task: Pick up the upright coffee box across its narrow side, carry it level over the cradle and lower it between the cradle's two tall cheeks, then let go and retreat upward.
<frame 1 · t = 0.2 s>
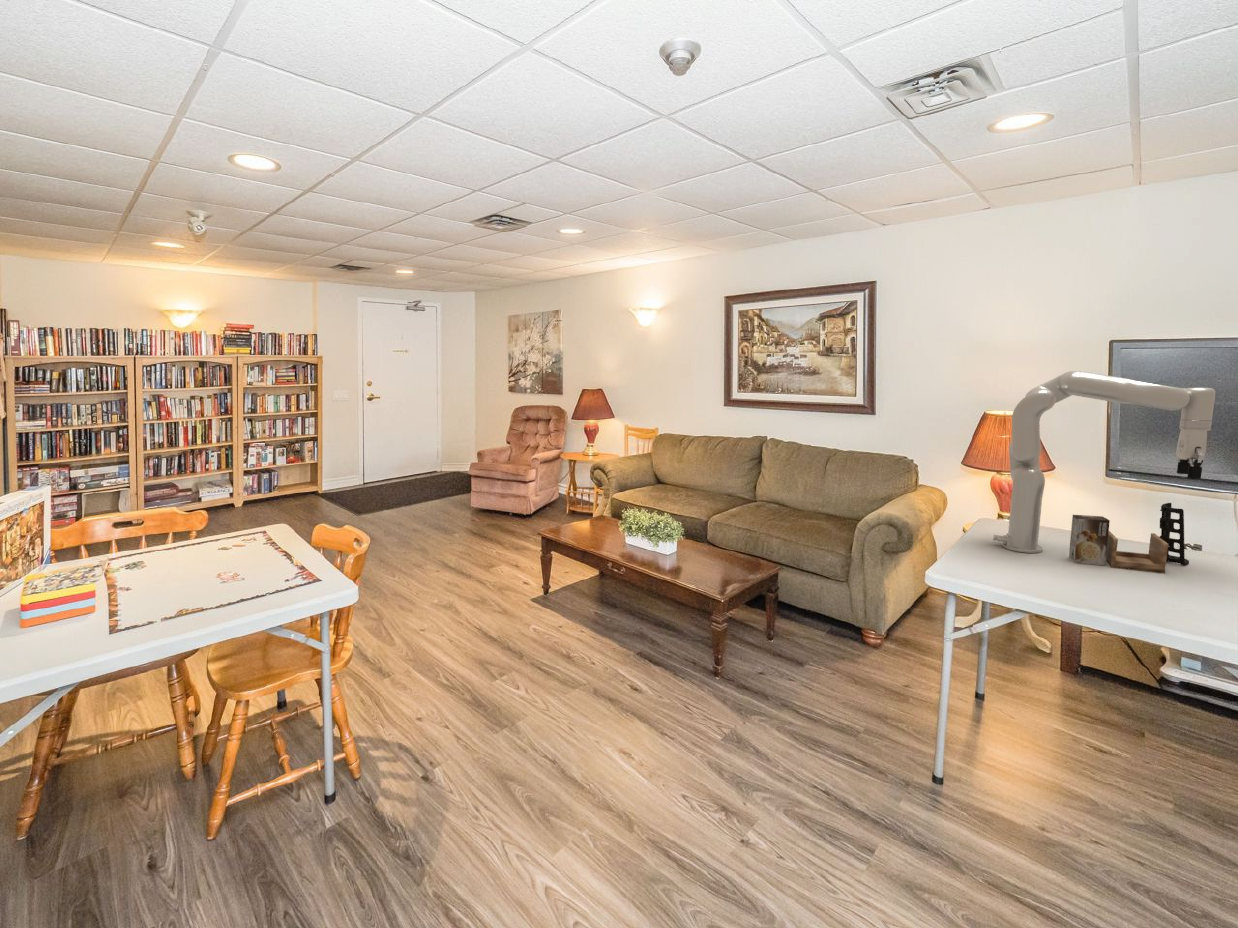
hand: (1188, 476, 202), 31 cm above the table, fingers open, 9 cm apart
coffee box: (1086, 562, 211), on the table
holder: (1170, 561, 210), on the table
cradle: (1131, 564, 207), on the table
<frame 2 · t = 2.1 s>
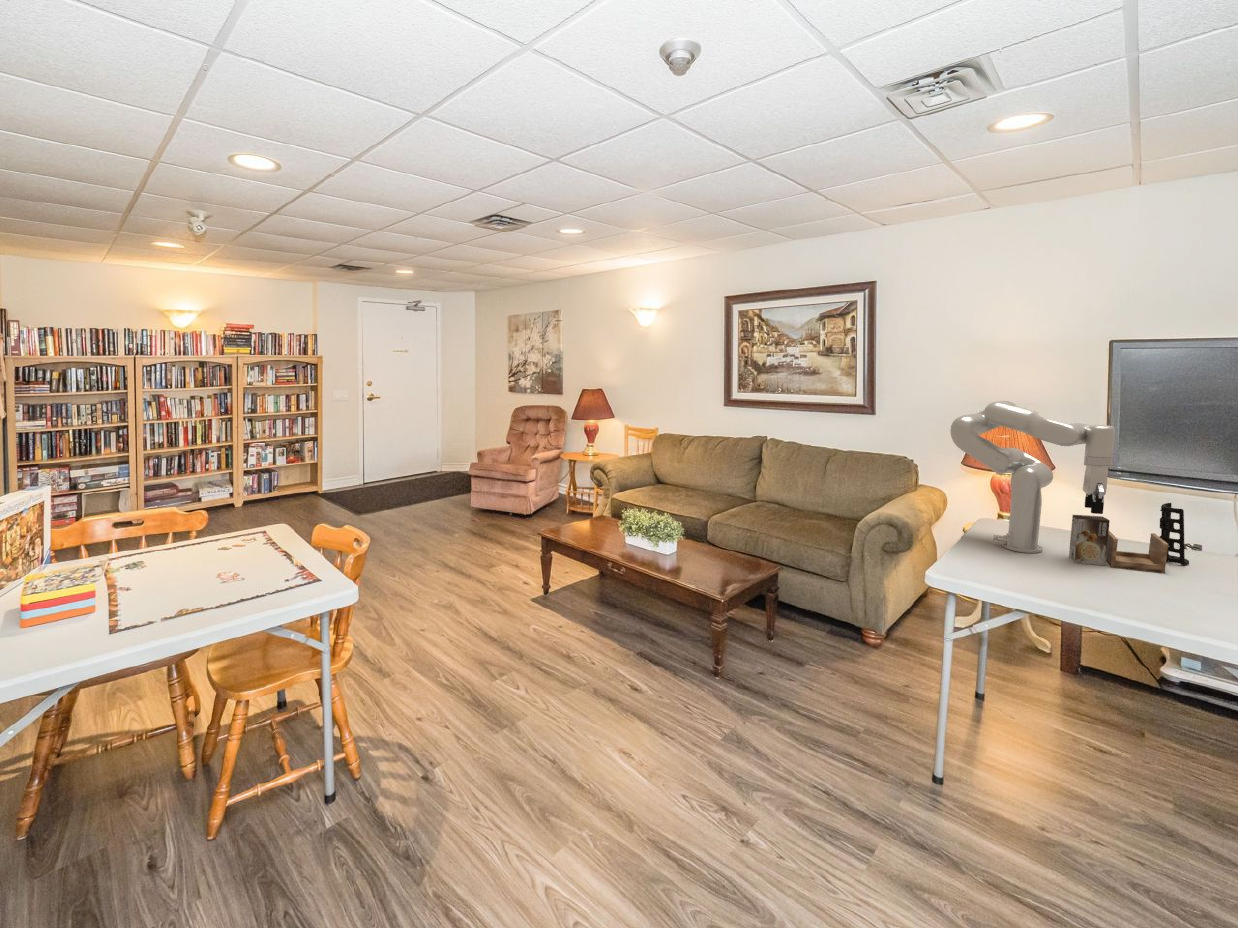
hand: (1093, 510, 208), 18 cm above the table, fingers open, 9 cm apart
nothing on the table moved.
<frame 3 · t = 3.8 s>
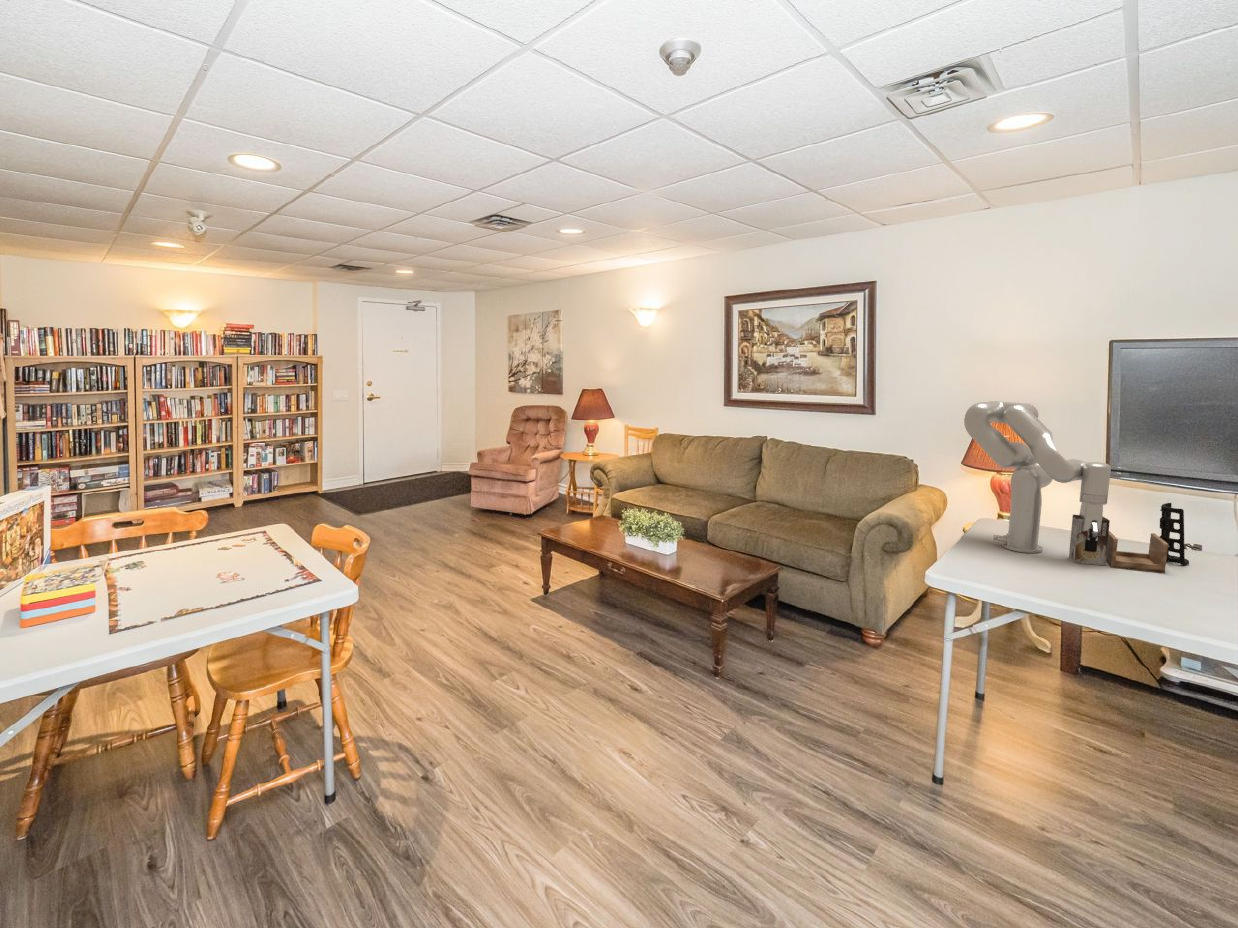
hand: (1088, 548, 210), 5 cm above the table, fingers closed on coffee box, 6 cm apart
coffee box: (1086, 562, 211), on the table, touching gripper
everything else where it was.
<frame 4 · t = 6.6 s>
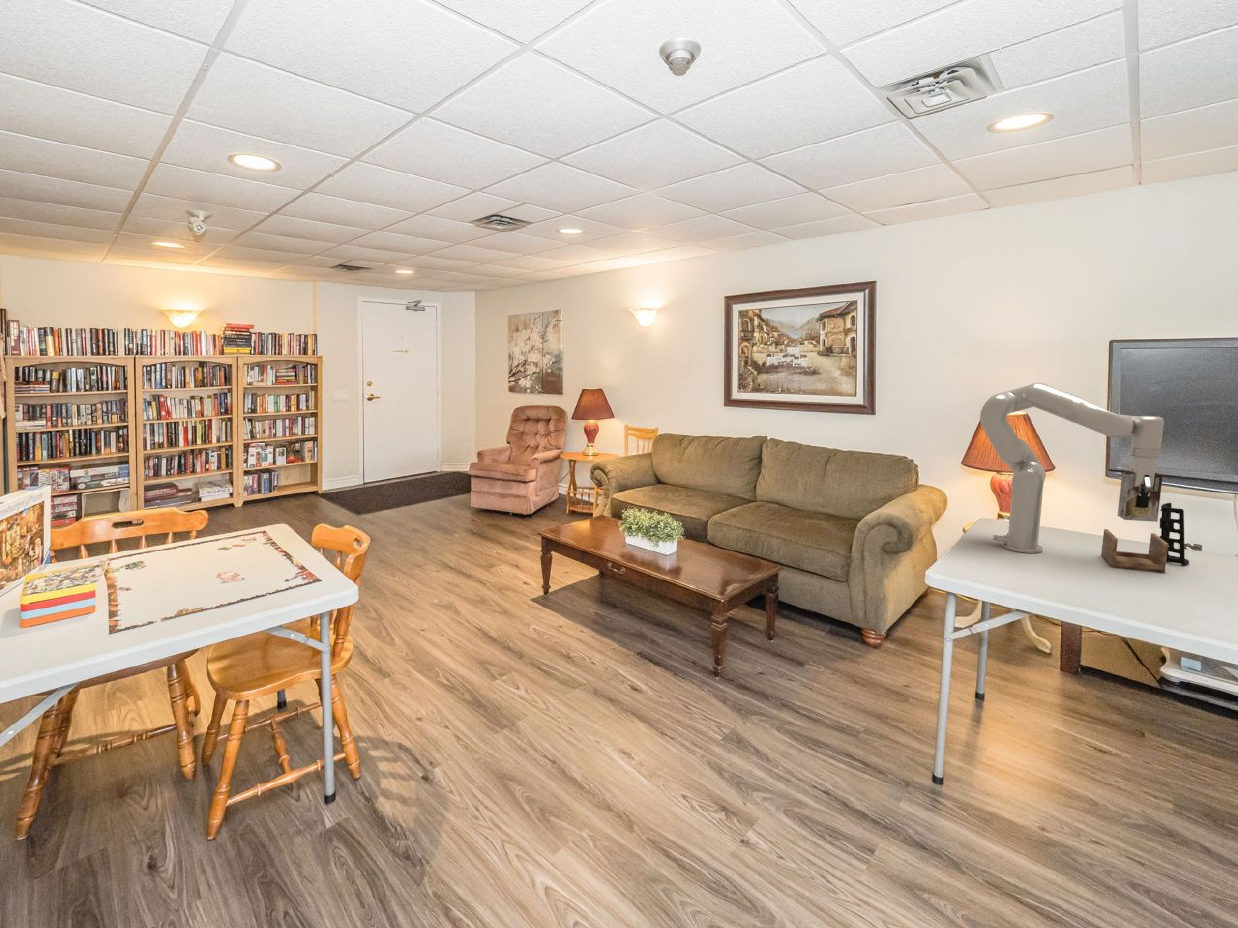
hand: (1138, 504, 204), 21 cm above the table, fingers closed on coffee box, 6 cm apart
coffee box: (1136, 519, 205), point 16 cm above the table, touching gripper
everything else where it was.
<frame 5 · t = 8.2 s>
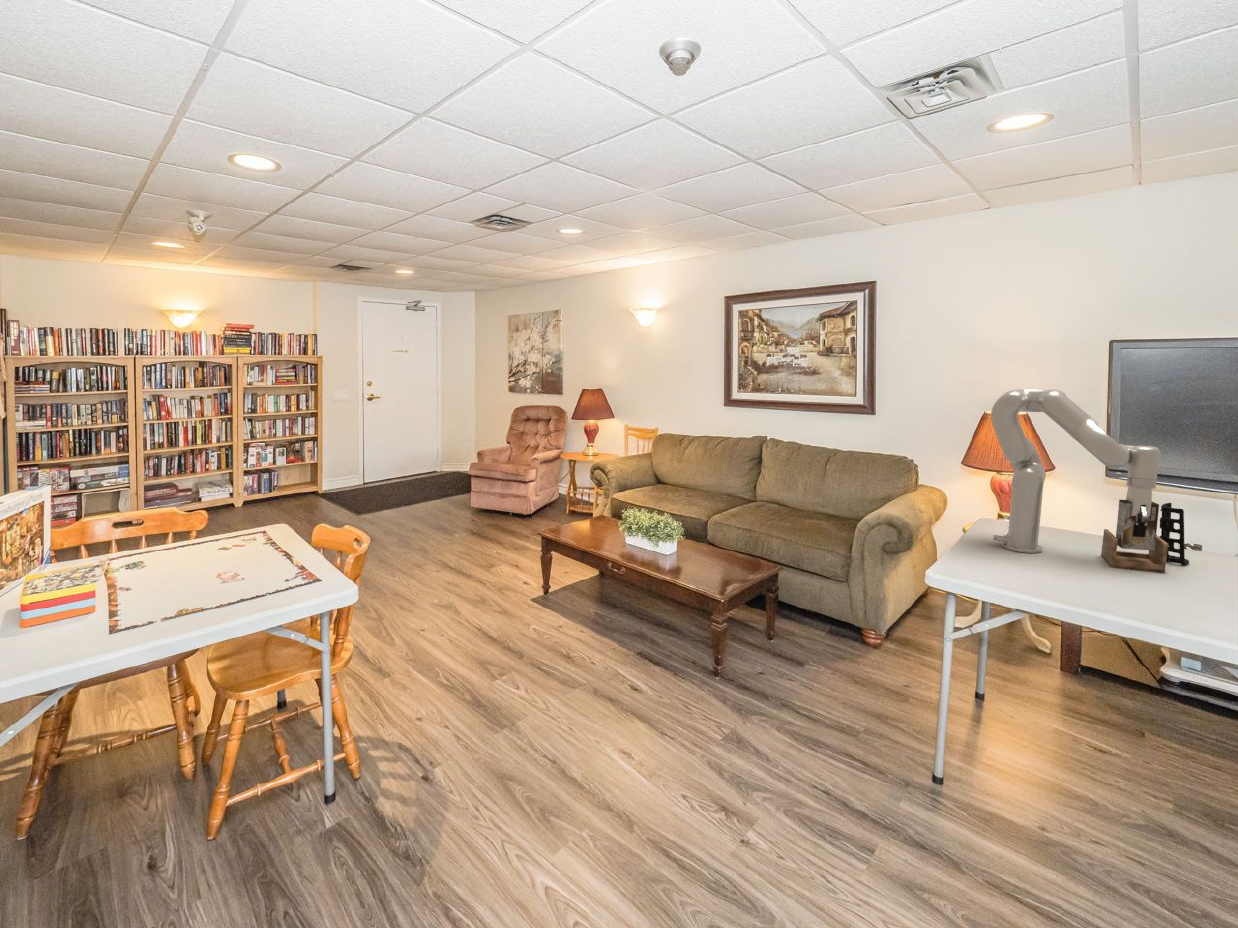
hand: (1135, 533, 206), 11 cm above the table, fingers closed on coffee box, 6 cm apart
coffee box: (1134, 548, 206), point 6 cm above the table, touching gripper
everything else where it was.
when the fingers open (7 cm above the table, at t = 9.6 s): coffee box stays where it is, resting on cradle.
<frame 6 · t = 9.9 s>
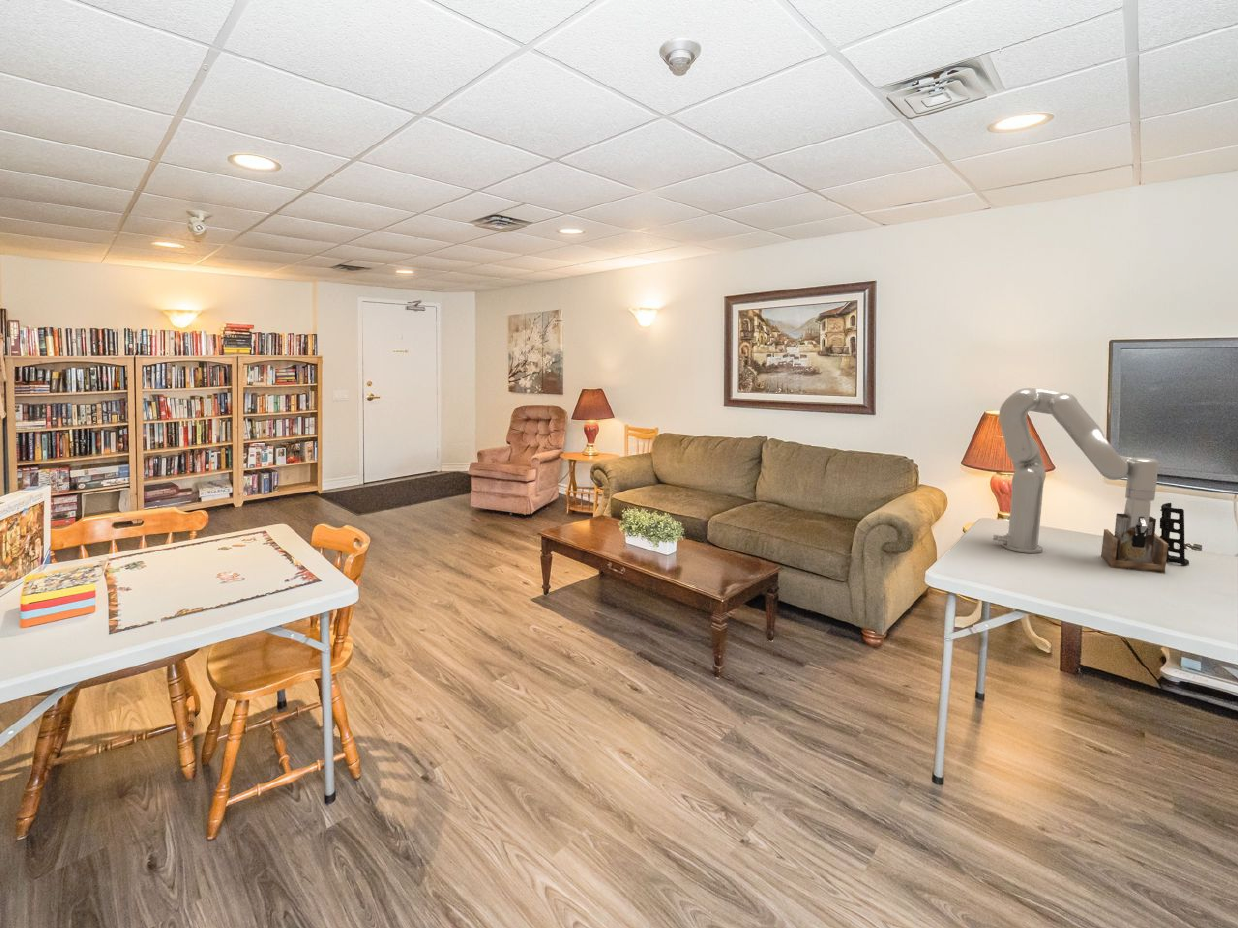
hand: (1133, 543, 206), 7 cm above the table, fingers open, 9 cm apart
coffee box: (1130, 561, 207), point 1 cm above the table, touching cradle
everything else where it was.
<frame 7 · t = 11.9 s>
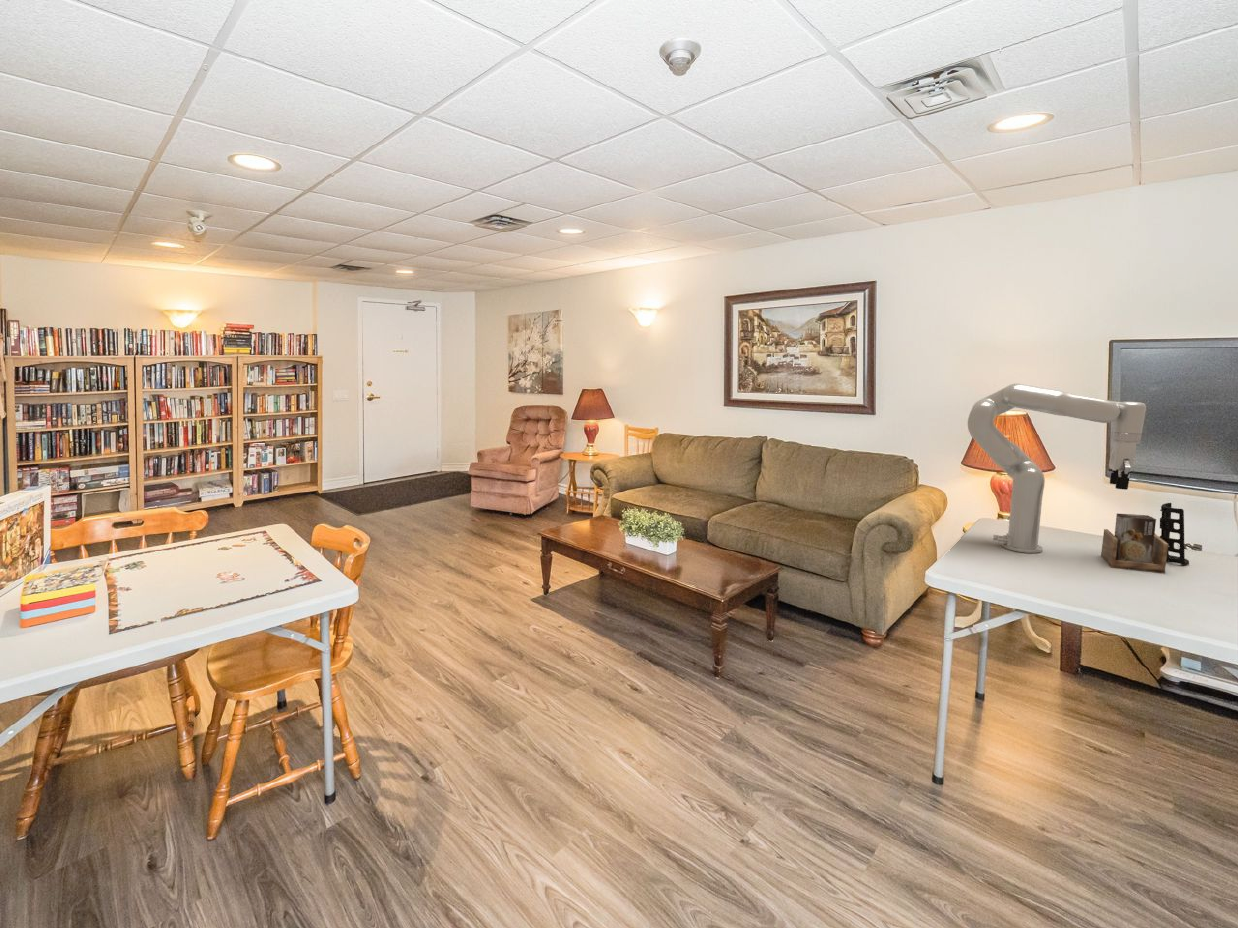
hand: (1118, 486, 210), 26 cm above the table, fingers open, 9 cm apart
nothing on the table moved.
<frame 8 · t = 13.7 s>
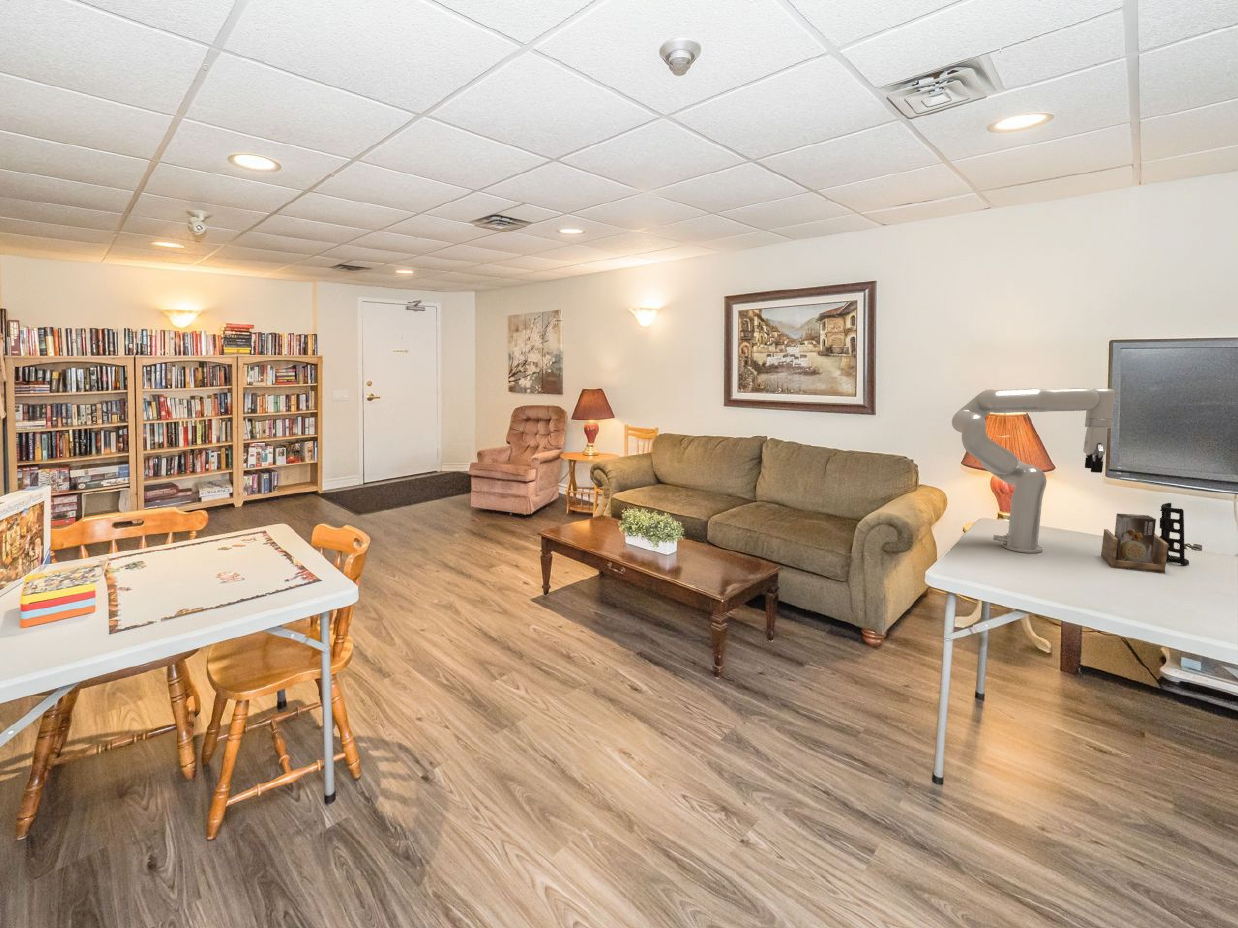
hand: (1093, 470, 218), 30 cm above the table, fingers open, 9 cm apart
nothing on the table moved.
at the end: coffee box inside the target area on the cradle (0.2 cm from its centre), point 0.8 cm above the cradle's base; coffee box tilted 0°; the gripper is holding nothing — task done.
